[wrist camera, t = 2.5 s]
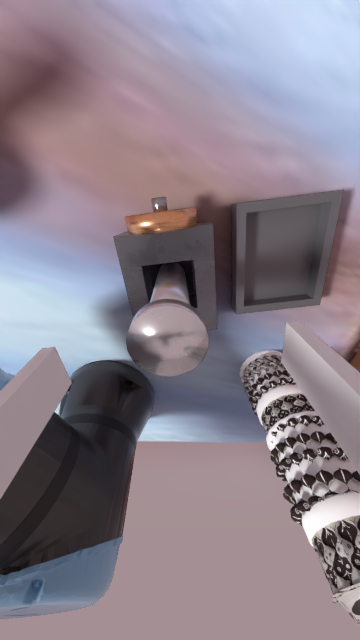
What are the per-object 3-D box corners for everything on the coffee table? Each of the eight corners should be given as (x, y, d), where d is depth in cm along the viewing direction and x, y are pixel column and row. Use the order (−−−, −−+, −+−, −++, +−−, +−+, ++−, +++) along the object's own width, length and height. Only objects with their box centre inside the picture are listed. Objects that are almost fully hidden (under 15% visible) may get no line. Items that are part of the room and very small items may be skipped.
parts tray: (308, 297, 30) (319, 304, 27) (231, 306, 30) (236, 314, 28) (328, 191, 24) (343, 189, 22) (231, 204, 24) (237, 203, 22)
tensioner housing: (211, 312, 30) (222, 342, 23) (143, 319, 31) (133, 352, 24) (205, 194, 24) (217, 186, 17) (118, 206, 24) (94, 203, 17)
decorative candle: (249, 342, 33) (404, 611, 11) (301, 353, 34) (538, 615, 12) (229, 384, 37) (311, 644, 15) (276, 393, 38) (419, 644, 16)
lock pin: (192, 292, 29) (210, 372, 14) (155, 296, 29) (135, 380, 14) (189, 253, 27) (206, 302, 12) (148, 258, 27) (117, 312, 12)
